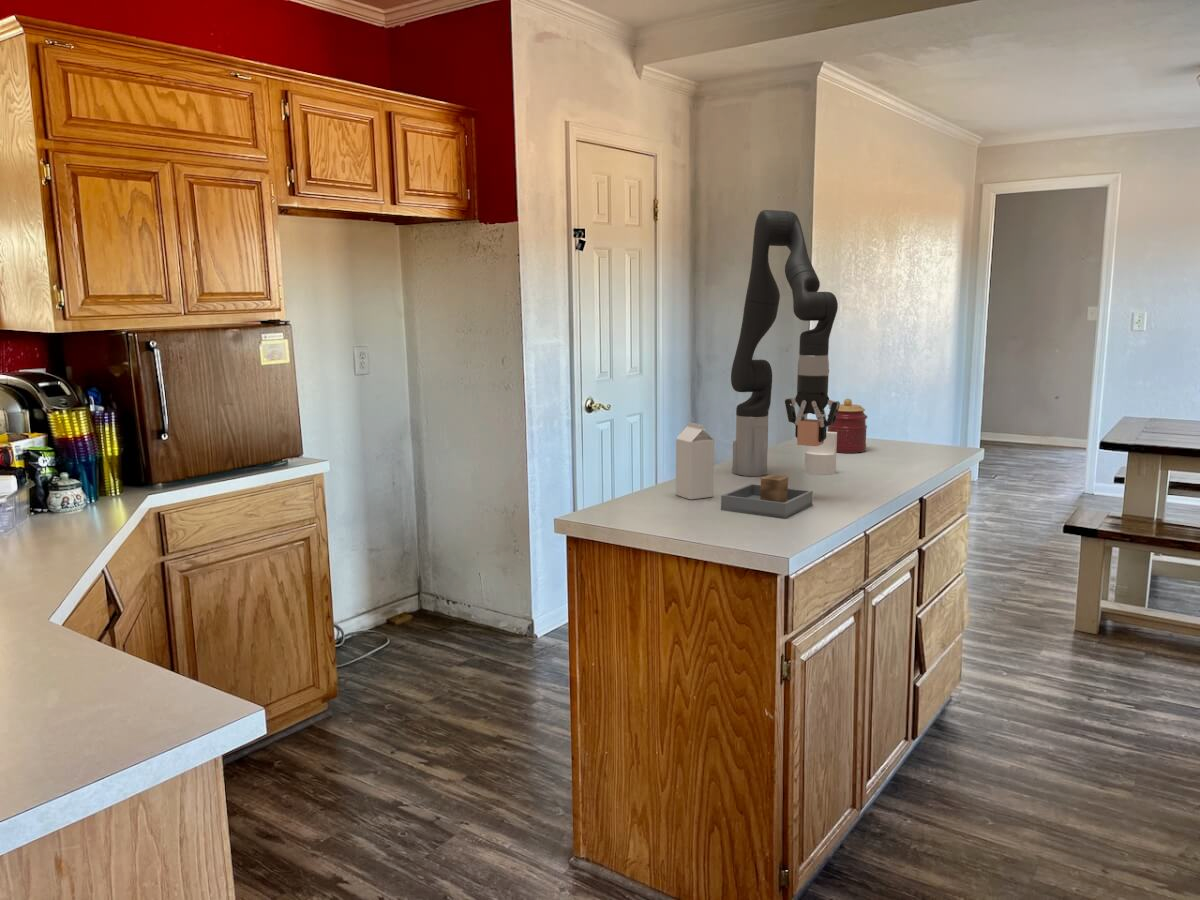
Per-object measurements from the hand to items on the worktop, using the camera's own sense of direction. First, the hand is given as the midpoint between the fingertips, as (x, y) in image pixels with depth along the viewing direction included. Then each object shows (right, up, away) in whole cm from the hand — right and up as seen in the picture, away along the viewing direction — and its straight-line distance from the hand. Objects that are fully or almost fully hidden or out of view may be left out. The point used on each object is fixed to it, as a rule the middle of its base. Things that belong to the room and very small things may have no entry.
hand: (810, 440), depth 222 cm
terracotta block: (0, -1, 0) cm, 1 cm away
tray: (-12, -16, -7) cm, 22 cm away
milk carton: (-29, -15, +7) cm, 33 cm away
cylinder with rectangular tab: (+12, -9, +38) cm, 41 cm away
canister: (+30, -3, +76) cm, 81 cm away
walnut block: (-10, -15, -4) cm, 19 cm away
